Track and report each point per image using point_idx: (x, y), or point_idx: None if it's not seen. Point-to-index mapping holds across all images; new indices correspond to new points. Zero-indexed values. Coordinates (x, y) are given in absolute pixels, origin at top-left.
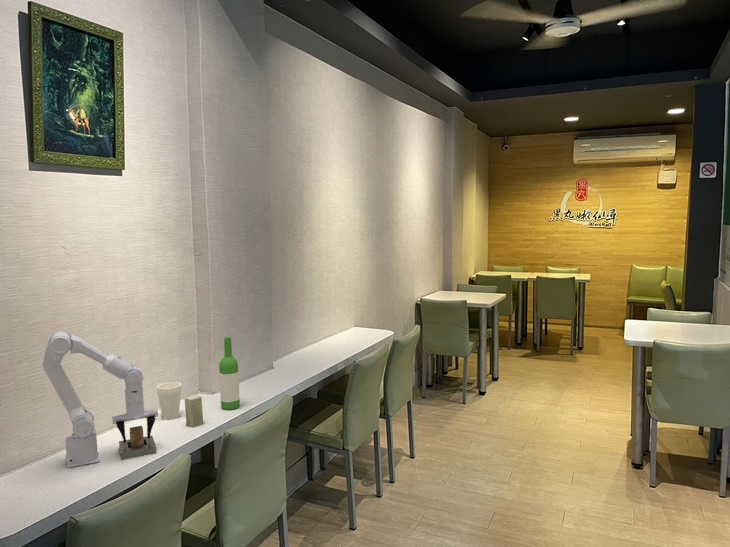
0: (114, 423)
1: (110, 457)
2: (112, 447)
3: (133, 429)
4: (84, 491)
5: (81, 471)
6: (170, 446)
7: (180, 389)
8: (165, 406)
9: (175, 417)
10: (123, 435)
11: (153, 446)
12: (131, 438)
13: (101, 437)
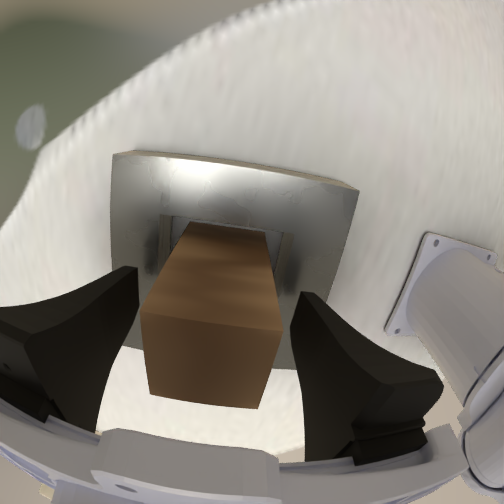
0: (440, 428)
1: (369, 259)
2: None
3: (237, 362)
4: (486, 15)
5: (486, 185)
6: (60, 210)
7: (42, 483)
8: None
9: None
10: (340, 322)
11: (126, 158)
12: (269, 284)
13: (304, 435)
